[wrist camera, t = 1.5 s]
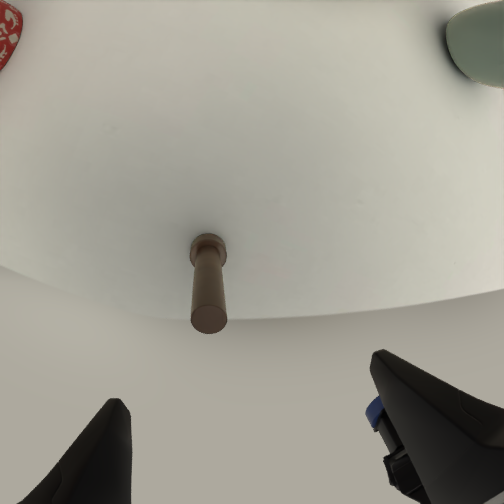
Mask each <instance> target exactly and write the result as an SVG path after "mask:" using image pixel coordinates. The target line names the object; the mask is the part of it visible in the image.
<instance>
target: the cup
mask: <svg viewBox="0 0 504 504" xmlns="http://www.w3.org/2000/svg"><path fill="white" fill-rule="evenodd" d="M446 41H447V46H448V49H449V52H450V55H451V57H452V59H453V61H454V62H455V64H456V65H457V67H458V68H459V69H460V70H461V71H462V72H463V73H464V74H465V75H466V76H467V77H469V78H470V79H472V80H474V81H475V82H478V83H480V84H483V85H486V86H490V87H495V88H501V89H504V0H499V1H494V2H489V3H484V4H480V5H477V6H474V7H471V8H468V9H466V10H463V11H461V12H459V13H457V14H456V15H454V16H453V17H452V18H451V19H450V21H449V22H448V24H447V28H446Z"/></svg>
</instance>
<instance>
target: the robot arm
mask: <svg viewBox="0 0 504 504" xmlns="http://www.w3.org/2000/svg"><path fill="white" fill-rule="evenodd" d="M370 372H371V375H372V378H373V380H374V383H375V385H376V388H377V391H378V393H379V396H380V398H381V401H382V403H383V406H384V408H383V409H382V410H381V411H380V414H379V417H378V419H377V422H376V424H375V427H374V429H373V430H374V432H377V431H379V433H380V435H381V436H382V438H383V440H384V442H385V444H386V446H387V448H388V450H389V452H390V454H389V455H387V456H385V457H384V460H383V462H384V464H385V467H386V470H387V473H388V477H389V483H390V485H392V486H395V487H396V488H397V490H399V491H401V493H402V494H404V495H406V496H408V497H409V498H411V499H413V500H415V501H417V502H419V503H420V504H504V409H503V408H500V407H498V406H495V405H492V404H489V403H486V402H484V401H482V400H480V399H477V398H475V397H473V396H471V395H469V394H467V393H465V392H463V391H461V390H459V389H457V388H455V387H453V386H451V385H450V384H448V383H446V382H444V381H442V380H440V379H438V378H437V377H435V376H433V375H431V374H429V373H427V372H425V371H424V370H422V369H420V368H418V367H416V366H414V365H412V364H411V363H409V362H407V361H405V360H403V359H401V358H399V357H398V356H396V355H394V354H392V353H390V352H389V351H387V350H384V349H382V350H378V351H375V352H374V353H373V355H372V359H371V364H370ZM131 473H132V436H131V415H130V412H129V410H128V409H127V407H126V406H125V405H124V403H123V402H122V401H121V399H119V398H111V399H109V400H108V401H107V402H106V403H105V404H104V405H103V407H102V408H101V409H100V410H99V411H98V413H97V414H96V415H95V416H94V418H93V419H92V420H91V421H90V422H89V424H88V425H87V426H86V428H85V429H84V430H83V431H82V432H81V434H80V435H79V436H78V437H77V439H76V440H75V441H74V442H73V444H72V445H71V446H70V447H69V449H68V450H67V451H66V452H65V454H64V455H63V456H62V458H61V459H60V460H59V462H58V463H57V464H56V465H55V466H54V467H53V469H52V470H51V471H50V472H49V474H48V475H47V476H46V477H45V478H44V479H43V480H42V481H41V482H40V483H39V484H38V485H37V487H35V488H34V489H33V490H32V491H31V492H30V493H29V494H28V496H26V497H25V498H24V499H23V500H22V501H21V502H19V503H17V504H131Z"/></svg>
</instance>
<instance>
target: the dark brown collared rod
mask: <svg viewBox="0 0 504 504" xmlns="http://www.w3.org/2000/svg"><path fill="white" fill-rule="evenodd" d="M226 258H227V254H226V247H225V244H224V242H223V240H222V239H221V238H220V237H218V236H216V235H214V234H202V235H200V236H198V237H197V238H196V239H195V240H194V241H193V243H192V245H191V250H190V261H191V263H192V265H193V266H194V267H195V270H194V281H193V293H192V306H191V323H192V325H193V327H194V328H195V329H196V330H198V331H199V332H201V333H205V334H213V333H217V332H219V331H221V330H222V329H223V328H224V327H225V325H226V323H227V312H226V303H225V294H224V285H223V276H222V267H223V265H224V264H225V262H226Z"/></svg>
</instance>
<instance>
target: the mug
mask: <svg viewBox="0 0 504 504" xmlns="http://www.w3.org/2000/svg"><path fill="white" fill-rule="evenodd" d="M22 24H23V20H22V15H21V13H20V12H19V11H18V10H17V9H16V8H15V7H13V6H11V5H10V4H8V3H6V2H5V1H3V0H0V70H1V69H2V68H3V66H4V65H5V64H6V62H7V61H8V59H9V58H10V56H11V54H12V52H13V51H14V49H15V47H16V45H17V42H18V40H19V37H20V34H21V30H22Z"/></svg>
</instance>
